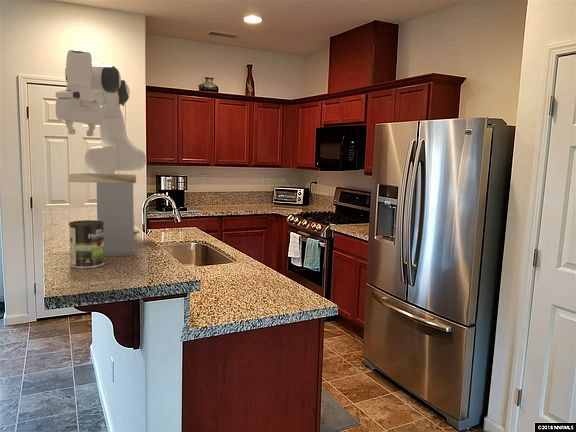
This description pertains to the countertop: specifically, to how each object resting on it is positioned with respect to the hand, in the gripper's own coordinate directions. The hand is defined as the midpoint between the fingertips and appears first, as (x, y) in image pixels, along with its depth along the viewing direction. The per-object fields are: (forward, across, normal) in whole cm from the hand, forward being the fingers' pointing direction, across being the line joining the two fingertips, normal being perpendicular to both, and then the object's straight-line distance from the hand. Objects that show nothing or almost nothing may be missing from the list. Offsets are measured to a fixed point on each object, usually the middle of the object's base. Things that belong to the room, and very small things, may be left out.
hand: (81, 135), depth 162 cm
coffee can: (+43, +18, +16) cm, 49 cm away
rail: (+16, +2, +11) cm, 20 cm away
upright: (+42, 0, +14) cm, 45 cm away
